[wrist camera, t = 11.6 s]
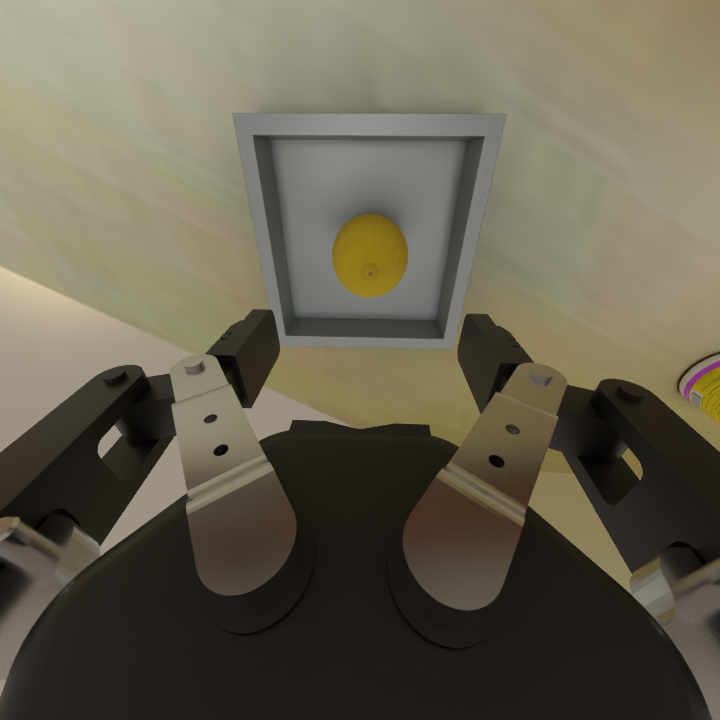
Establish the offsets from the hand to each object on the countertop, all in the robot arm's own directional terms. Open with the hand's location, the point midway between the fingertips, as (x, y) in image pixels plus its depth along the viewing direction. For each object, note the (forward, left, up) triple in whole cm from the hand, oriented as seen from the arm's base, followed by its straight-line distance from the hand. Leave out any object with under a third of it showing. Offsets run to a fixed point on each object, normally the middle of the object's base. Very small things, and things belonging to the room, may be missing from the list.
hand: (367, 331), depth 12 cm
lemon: (0, 0, -15) cm, 15 cm away
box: (0, 0, -15) cm, 15 cm away
